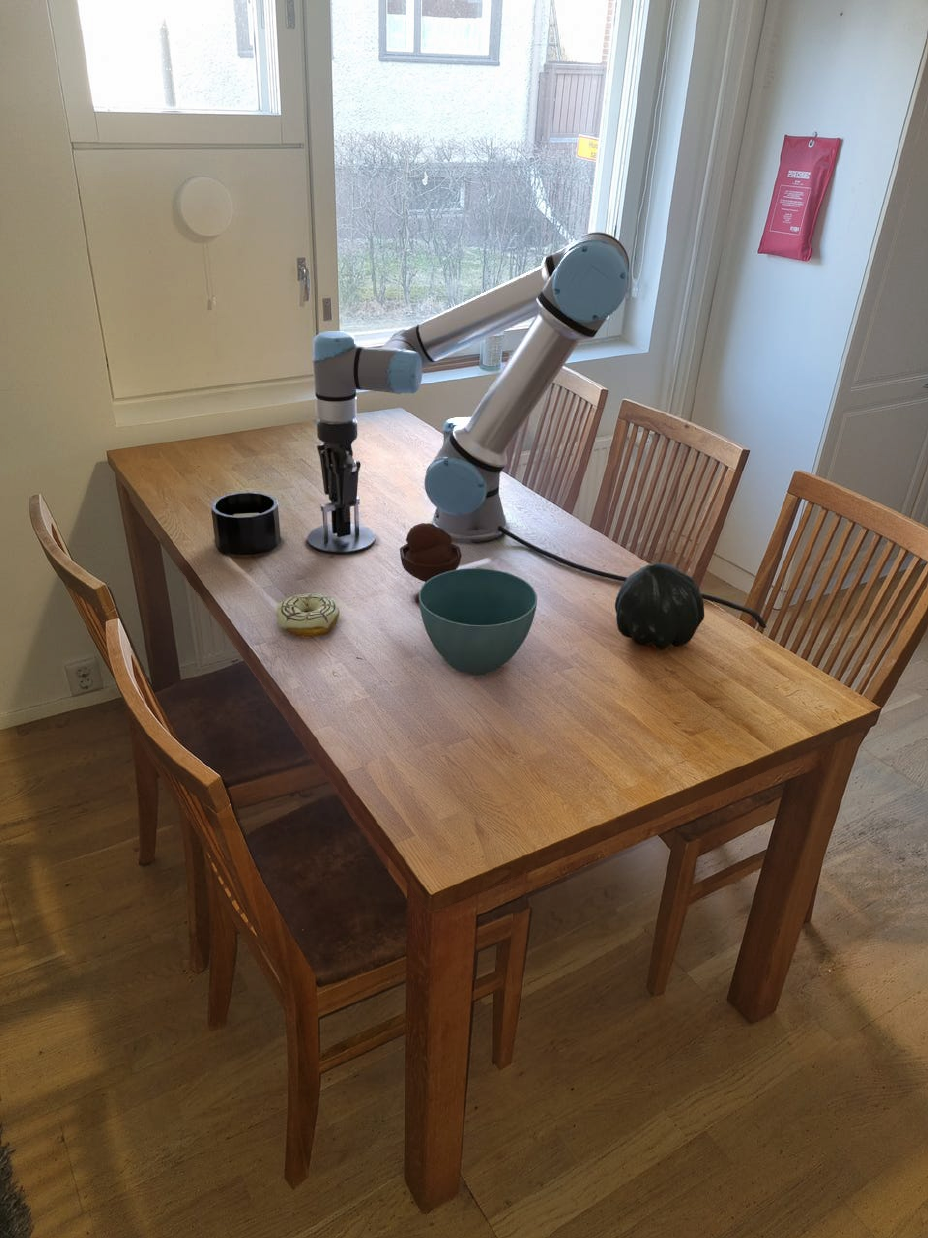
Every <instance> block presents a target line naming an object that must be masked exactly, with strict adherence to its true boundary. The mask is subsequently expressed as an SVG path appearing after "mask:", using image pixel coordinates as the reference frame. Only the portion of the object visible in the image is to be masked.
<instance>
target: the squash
mask: <svg viewBox="0 0 928 1238" xmlns="http://www.w3.org/2000/svg"><path fill="white" fill-rule="evenodd" d="M700 593H701V591H700V588H699V584H698V583H697V582H696V580H695V579H693V577H691V576H689V575H687V574H686V573H684V572H683V571H681V570H679V569H678V568H677V567H675V566H673V565H672V564H669V563H665V562H653V563H648V564H647V565H644V566H642V567H640V568H639V569H638V570H636V571H634V572H632V573H631V574H630V575H629V576H628V578H627V579H626V580H625V581H624V582H623V583H622V585H621V588H620V589H619V591H618V593H617V595H616V597H615V601H614V610H615V614H616V615H615V619H616V627H617V629H618V630H617V631H618V632H619V633H620V634H621V635H622V636H624V637H625V638H628V639H632V642H633V643H634V644H636V645H637V646H642V647H643V646H644V647H645V646H649V645H650V644H651V645H652V646H653V647H654V648H655V649H657V650H660V651H664V650H666V649H668V648H670V647H671V646H672V647H675V648H679V647H683V646H686V645H687V644H688V643H690V641H691V640H692V639H693V637H695V634H696V631H697V629H698V627H699V626H700V624H701V623H702V622H703V620H704V619H705V603H704V599H702V596H701V594H700Z"/></svg>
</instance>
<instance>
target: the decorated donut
mask: <svg viewBox="0 0 928 1238" xmlns="http://www.w3.org/2000/svg"><path fill="white" fill-rule="evenodd" d="M276 609H277V610H276V611H275V615H276V618H277V623H278V625H279V628H281V629H282V630H285V631H286V632H288V633H289V634H290V635H292V636H295V637H299V638H309V639H313V638H314V637H319V636H322V635H325V634H327V633H329V631H331V630H332V629H333V628H334V626H336V624H337V623H338V621H339V617H340V606H339V603H338V601H337V600H335V599H334V598H332V597H331V596H328V595H325V594H322V593H315V592H311V593H310V592H309V593H307V592H306V593H298V594H294V595H291V596H287V598H285V599H284V600H283V601H281V602H279V604H277V607H276Z"/></svg>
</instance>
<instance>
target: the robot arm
mask: <svg viewBox="0 0 928 1238" xmlns="http://www.w3.org/2000/svg"><path fill="white" fill-rule="evenodd" d="M629 281H630V258H629V256H628V251H627V250H626V248H625V247H624V245H623V244H622V243H621V241H619V239H617V238H616V237H615V236H613V235H611V234H608V233H605V232H599V231H595V232H589V233H586V234H583V235H581V236H579V237H578V238H576V239H574V240H573V241H572V242H570V243H569V244H567V245H565V246H564V247H562V248H561V249H559V250H557V251H555V252H553V253H551V254H550V255H547V256H545V257H544V258H543V260H542V263H541V265H540V266H538V267H536V268H535V269H531V270H529V271H528V272H525V273H524V274H522V275H519V276H517V277H515V278H513V279H511V280H509V281H507V282H504V283H503V284H500V285H498V286H496V287H494V288H492V289H490V290H488V291H486V292H484V293H481V294H480V295H477V296H475V297H473V298H471V299H469V300H466V301H465V302H462V303H460V304H458V305H456V306H454V307H451V308H449V309H448V310H445V311H444V312H441V313H440V314H437V315H434V316H433V317H430V318H429V319H426V320H424V321H422V322H419V324H417V325H414V326H412V327H410V328H404V329H401V330H399V331H397V332H395V333H394V334H393V335H392V336H391V337H390V339H388V340H387V342H385V344H384V345H382V346H381V347H365V346H359V345H357V343H356V341H355V340H356V339H355V336H354V335H353V334H352V333H350V332H345V331H339V330H330V331H323V332H320V333H317V335H315V336H314V338H313V341H312V343H313V345H312V346H313V347H312V349H313V352H312V355H313V356H312V364H313V365H312V366H313V374H314V375H313V376H314V390H315V395H314V400H315V401H314V402H315V403H314V404H315V417H316V418H317V420H316V431H317V432H316V433H317V434H316V435H317V439H318V440H319V441H320V442H322V443H321V444H317V446H316V449H317V453H318V456H319V463H320V471H321V477H322V485H323V486H322V487H323V492H324V495H327V496H328V500H329V501H330V503H331V502H335V501H338V504H335V507H336V510H333V511H330V513H331V514H330V515H331V524H332V532H333V533H334V534H335V533H337V536H338V537H342V536H346V535H350V534H351V524H350V523H351V507H354V505H356V502H357V497H358V487H359V486H358V483H359V472H360V469H361V462H360V460H355V458H354V457H353V455H354V451H353V447H352V444H353V443H354V442H355V441H356V440H357V439H358V436H359V435H358V420H357V416H358V414H357V402H358V398H357V390H359V391H370V392H381V393H390V394H391V393H393V394H397V395H401V394H416V393H417V392H418V391H419V389H420V386H421V384H422V378H423V368H426V367H428V366H430V365H431V364H434V363H436V362H437V361H440V360H441V359H444V358H446V357H448V356H450V355H453V354H456V353H457V352H460V351H462V350H465V349H467V348H468V347H470V346H473V345H475V344H477V343H479V342H482V341H484V340H486V339H488V338H491V337H493V336H495V335H497V334H500V333H502V332H505V331H506V330H509V329H511V328H513V327H515V326H518V325H519V324H523V323H524V322H526V321H529V320H531V319H533V318H534V319H533V320H532V322H531V323H530V324H529V326H528V328H527V329H526V331H525V333H524V334H523V335H522V337H521V339H519V340H520V341H519V342H518V344H517V345H516V346H515V348H514V350H513V351H512V353H511V354H510V356H509V357H508V359H507V360H506V362H505V363H504V365H503V367H502V369H501V370H500V371H499V373H498V374H497V376H496V377H495V379H494V381H493V383H492V384H491V385H490V387H489V388H488V390H487V392H486V393H485V395H484V396H483V398H482V399H481V401H480V402H479V404H478V406H477V407H476V408H475V410H474V412H473V414H472V415H471V416H463V417H461V416H459V417H453V418H449V419H447V420H446V421H445V422H444V424H443V429H442V434H443V441H442V445H441V448H440V449H439V451H438V452H437V454H436V455H435V457H434V459H433V461H432V462H431V463H430V464H429V465H428V467H427V469H426V471H425V476H424V483H423V484H424V490H425V493H426V496H427V498H428V499H429V501H430V502H431V503H432V504H433V505H434V506H435V507H436V508H435V511H434V514H433V518H432V524H433V525H434V526H436V527H439V528H441V529H443V530H444V531H445V532H447V533H448V534H449V535H450V536H451V537H452V540H459V541H466V542H467V541H468V542H469V541H470V542H471V543H480V542H487V541H491V540H495V539H497V538H500V537H501V536H502V535H503V534H504V535H506V536H507V537H509V538H511V539H512V540H514V541H516V542H517V543H519V544H521V545H523V546H525V547H527V548H528V549H530V550H531V551H534V552H536V553H538V554H541V555H543V556H544V557H547V558H549V559H551V560H555V561H556V562H559V563H561V564H563V565H566V566H568V567H570V568H574V569H576V570H579V571H582V572H586V573H589V574H592V575H595V576H598V577H603V578H607V579H611V580H614V581H619V582H623V583H624V581H625V580H626V579H627V578H628V577H629V576H628V577H627V576H623V575H618V574H614V573H609V572H606V571H602V570H598V569H594V568H591V567H589V566H585V565H581V564H579V563H576V562H573V561H571V560H568V559H565V558H563V557H561V556H559V555H557V554H554V553H552V552H550V551H548V550H546V549H543V548H541V547H538V546H536V545H535V544H533V543H531V542H529V541H527V540H525V539H523V538H521V537H520V536H518V535H516V534H515V533H514V532H512V531H510V530H508V529H506V526H507V517H506V515H505V512H504V508H503V504H502V500H501V497H500V476H501V472H502V471H503V470H504V468H505V466H506V465H507V463H508V456H507V452H506V451H507V449H508V448H509V446H510V445H511V444H512V442H513V440H515V437H517V434H519V431H520V430H521V429H522V427H523V426H524V424H525V423H526V422H527V420H528V418H529V417H530V416H531V414H532V413H533V411H534V410H535V408H536V407H537V405H538V404H539V402H540V401H541V399H542V398H543V397H544V395H545V394H546V392H547V390H548V389H549V388H550V387H551V385H552V383H553V382H554V381H555V380H556V378H557V376H558V375H559V374H560V372H561V370H562V369H563V368H564V366H565V364H566V363H567V361H568V360H569V358H570V357H571V355H572V354H573V353H574V351H575V349H576V348H577V347H578V345H579V344H580V343H581V342H582V341H587V340H592V339H594V338H595V336H596V335H597V333H598V332H599V330H600V329H601V328H602V326H603V325H604V323H605V322H606V321H607V319H608V318H609V317H610V316H611V315H612V314H613V313H614V312H615V311H616V310H617V309H619V307H620V306H621V304H622V303H623V301H624V299H625V297H626V294H627V291H628V288H629V283H630V282H629ZM350 506H351V507H350ZM700 594H701V596H702V599H703V600H707V601H710V602H713V603H716V604H720V605H723V606H726V607H728V608H731V609H733V610H736V611H740V612H743V613H745V614H747V615H750V616H751V617H752V618H753V619H754V620H755V621H756V622H757V623H758V625H759V626H760V628H763V629H766V628H767V625H766V622H765V620H763V618H762V617H761V615H759V613H757V612H756V611H755V610H754V609H751V608H749V607H747V606H743V605H740V604H738V603H734V602H731V601H729V600H726V599H723V598H720V597H717V596H714V595H710V594H707V593H703V592H700Z"/></svg>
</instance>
